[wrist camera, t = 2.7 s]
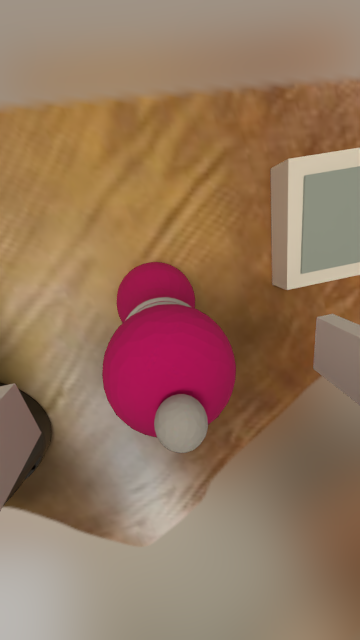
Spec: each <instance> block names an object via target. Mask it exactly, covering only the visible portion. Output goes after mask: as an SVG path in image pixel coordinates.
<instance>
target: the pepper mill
mask: <svg viewBox="0 0 360 640" xmlns="http://www.w3.org/2000/svg"><path fill="white" fill-rule="evenodd" d="M117 310H118V314H119V317H120V319H121V321H122V322H123V324H122V325H120V326H119V328H118V329H117V330H116V332H115V333H114V335H113V336H112V338H111V340H110V342H109V344H108V346H107V349H106V351H105V355H104V361H103V373H102V376H103V384H104V390H105V393H106V396H107V399H108V401H109V403H110V405H111V407H112V408H113V410H114V412H115V413H116V415H117V416H118V417H119V418H120V419H121V420H123V421H124V422H125V423H126V424H127V425H128V426H130V427H131V428H132V429H134V430H136V431H138V432H140V433H143V434H145V435H149V436H153V437H157V438H158V439H159V441H160V442H161V444H162V445H163V446H164V447H166V448H167V449H168V450H170V451H174V452H177V453H186V452H189V451H192V450H194V449H195V448H196V447H198V446H199V445H200V444H201V442H202V441H203V439H204V438H205V436H206V433H207V429H208V424H209V423H211V422H212V421H213V420H215V419H216V418H217V417H218V416H219V414H220V413H221V412H222V410H223V409H224V407H225V406H226V405H227V403H228V401H229V399H230V396H231V394H232V391H233V387H234V383H235V375H236V365H235V359H234V354H233V351H232V347H231V345H230V343H229V341H228V338H227V337H226V335H225V334H224V332H223V331H222V329H221V328H220V327H219V326H218V325H217V324H216V323H215V322H214V321H213V320H212V319H211V318H210V317H208V316H207V315H206V314H204V313H202V312H200V311H199V310H197V309H195V296H194V291H193V288H192V286H191V284H190V282H189V281H188V279H187V278H186V276H185V275H184V274H183V273H182V272H181V271H180V270H178V269H177V268H175V267H173V266H171V265H169V264H165V263H159V262H151V263H146V264H142V265H140V266H138V267H136V268H134V269H133V270H131V271H130V272H129V273H128V274H127V275H126V276H125V277H124V279H123V280H122V282H121V284H120V286H119V289H118V294H117Z"/></svg>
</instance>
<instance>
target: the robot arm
mask: <svg viewBox="0 0 360 640" xmlns="http://www.w3.org/2000/svg"><path fill="white" fill-rule="evenodd" d="M313 369H314V370H316V371H317V372H318V373H319V374H321V375H322V376H323V377H324V378H326V379H327V380H328V381H330V382H331V383H332V384H333V385H335V386H336V387H337V388H338V389H340V390H341V391H342V392H343V393H345V394H346V395H347V396H349V397H350V398H351V399H352V400H354V401H355V402H356V403H357V404H359V405H360V325H358V324H356V323H353V322H351V321H348V320H346V319H344V318H341V317H339V316H336V315H334V314H330V315H325V316H321V317H317V321H316V336H315V352H314V367H313ZM50 439H51V426H50V422H49V419H48V417H47V415H46V413H45V412H44V410H43V409H42V408H41V407H40V405H39V404H38V403H37V402H35V401H34V400H33V399H32V398H31V397H29V396H28V395H26V394H25V393H23V392H21V391H19V390H18V388H17V386H16V384H15V383H13V384H9V385H5V384H1V383H0V511H1V509H2V507H3V506H4V505H5V503H6V502H7V501H8V500H9V499H10V498H11V497H12V495H13V494H14V493H15V492H16V491H17V489H18V488H19V487H20V486H21V484H22V483H23V481H24V480H25V479H26V478H28V477H29V476H30V475H31V474H32V473H33V472H34V470H35V469H36V468H37V467H38V465H39V464H40V462H41V460H42V459H43V456H44V454H45V452H46V450H47V448H48V445H49V443H50Z"/></svg>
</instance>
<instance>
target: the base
mask: <svg viewBox="0 0 360 640" xmlns="http://www.w3.org/2000/svg"><path fill="white" fill-rule="evenodd" d="M271 232H272V285H275V286H278V287H280V288H283V289H286V290H289V289H294V288H299V287H303V286H308V285H313V284H318V283H323V282H327V281H332V280H337V279H342V278H346V277H351V276H356V275H360V148H355V149H348V150H342V151H336V152H329V153H323V154H317V155H310V156H304V157H298V158H291V159H288V160H286V161H284V162H282V163H280V164H278V165H276V166H274V167H272V168H271Z"/></svg>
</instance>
